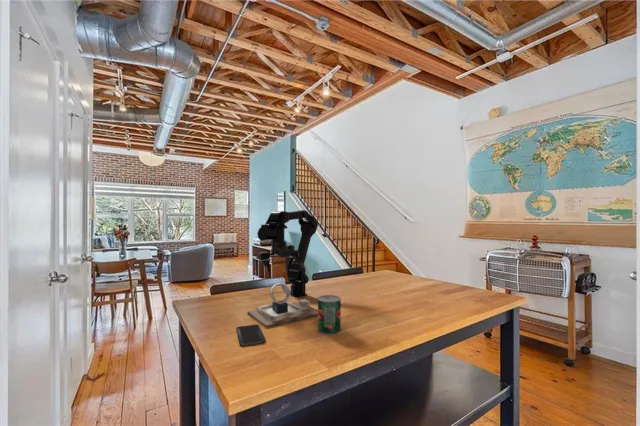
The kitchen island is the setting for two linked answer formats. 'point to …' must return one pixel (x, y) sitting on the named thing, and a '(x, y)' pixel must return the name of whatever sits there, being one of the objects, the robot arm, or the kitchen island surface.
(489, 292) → the kitchen island surface
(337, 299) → the canned tomato
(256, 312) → the charging board
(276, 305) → the watch
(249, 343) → the phone
